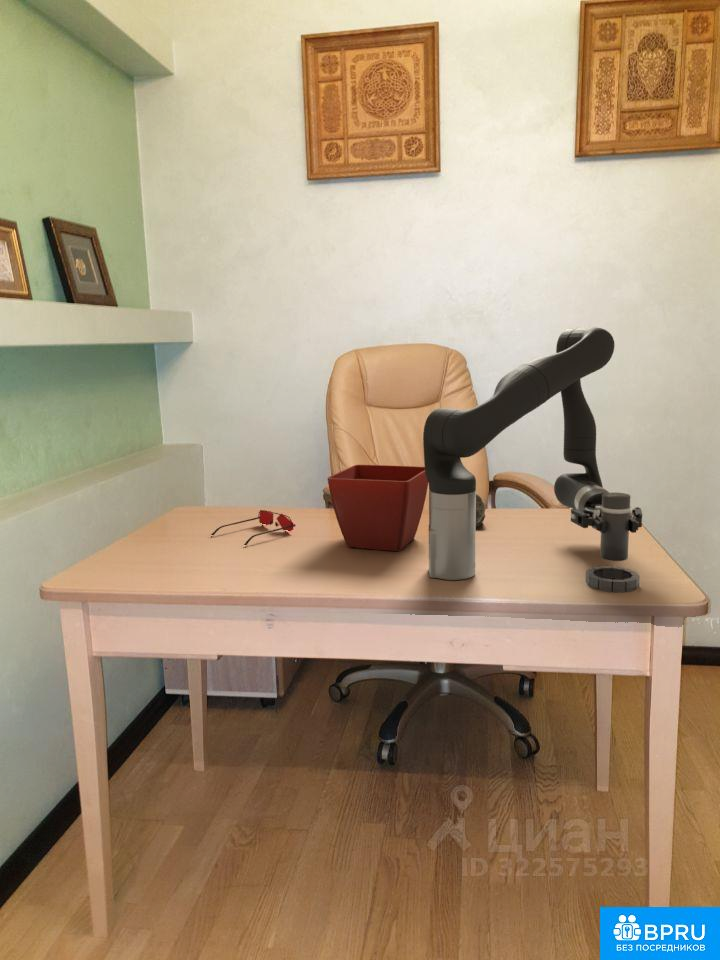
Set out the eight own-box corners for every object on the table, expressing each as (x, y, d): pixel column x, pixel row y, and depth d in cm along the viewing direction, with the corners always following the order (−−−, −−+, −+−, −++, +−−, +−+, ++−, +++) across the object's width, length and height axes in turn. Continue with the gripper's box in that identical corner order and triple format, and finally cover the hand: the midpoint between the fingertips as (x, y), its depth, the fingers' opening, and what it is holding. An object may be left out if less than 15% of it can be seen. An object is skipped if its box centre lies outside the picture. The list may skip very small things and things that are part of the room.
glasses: (297, 535, 185) (296, 515, 184) (242, 549, 174) (241, 528, 173) (261, 526, 195) (260, 507, 194) (207, 539, 184) (206, 519, 183)
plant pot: (357, 529, 188) (355, 463, 185) (431, 535, 181) (431, 466, 178) (327, 550, 170) (325, 477, 167) (409, 557, 164) (408, 481, 161)
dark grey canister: (603, 561, 141) (605, 498, 139) (596, 553, 146) (598, 492, 144) (631, 561, 141) (634, 498, 138) (623, 552, 146) (626, 492, 143)
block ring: (593, 592, 140) (593, 581, 140) (581, 576, 149) (581, 566, 149) (644, 592, 139) (645, 581, 139) (629, 575, 149) (630, 566, 148)
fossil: (452, 530, 183) (444, 491, 186) (441, 538, 192) (433, 501, 195) (493, 525, 186) (485, 486, 189) (481, 534, 194) (473, 496, 197)
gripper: (561, 488, 156) (580, 508, 139) (632, 487, 155) (659, 507, 138) (560, 523, 157) (579, 547, 141) (630, 522, 156) (657, 546, 140)
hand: (619, 527), depth 140 cm, fingers closed on dark grey canister, 5 cm apart
